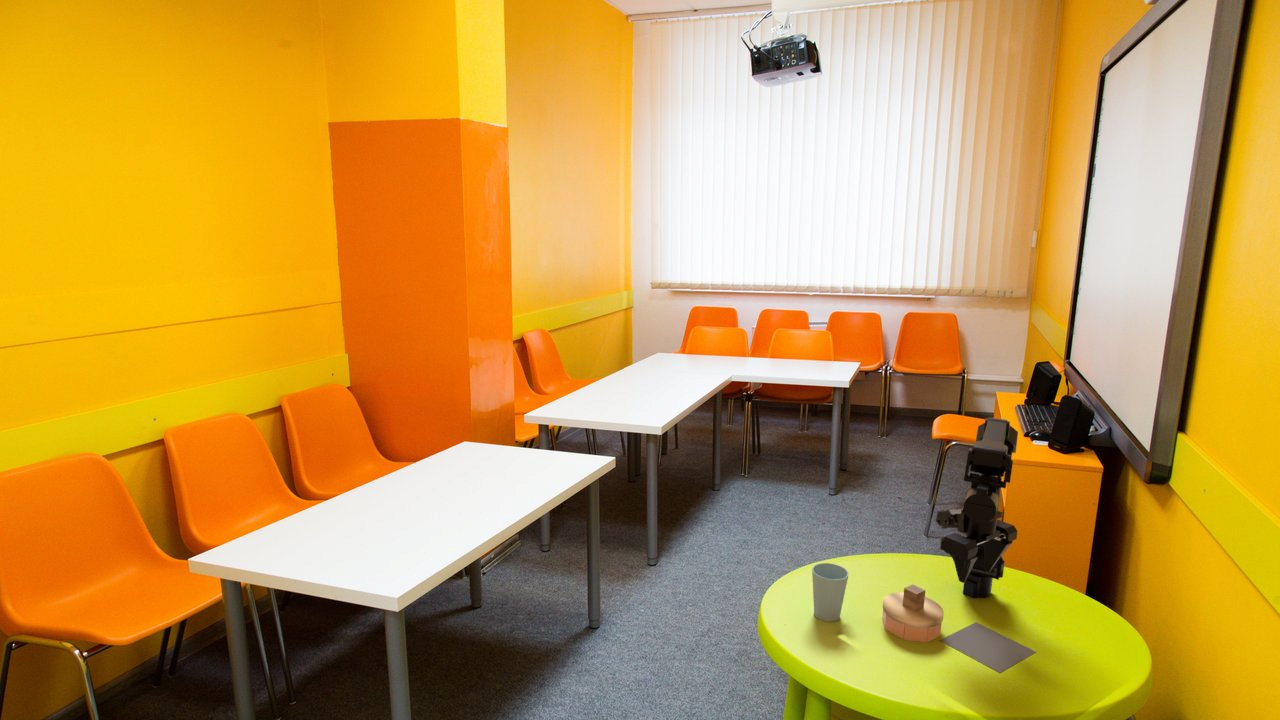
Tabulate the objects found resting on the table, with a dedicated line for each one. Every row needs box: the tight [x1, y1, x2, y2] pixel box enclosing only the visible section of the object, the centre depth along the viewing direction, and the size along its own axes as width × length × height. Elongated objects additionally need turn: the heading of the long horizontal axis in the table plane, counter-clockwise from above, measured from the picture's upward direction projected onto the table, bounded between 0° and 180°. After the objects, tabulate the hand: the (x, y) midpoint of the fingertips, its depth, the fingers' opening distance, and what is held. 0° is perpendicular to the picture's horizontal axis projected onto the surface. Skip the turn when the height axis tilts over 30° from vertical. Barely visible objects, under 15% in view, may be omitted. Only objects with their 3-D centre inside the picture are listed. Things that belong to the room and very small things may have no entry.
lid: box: [882, 583, 945, 628], centre depth 156 cm, size 12×12×5 cm
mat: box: [939, 621, 1037, 674], centre depth 150 cm, size 13×13×1 cm
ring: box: [881, 609, 943, 643], centre depth 157 cm, size 11×11×4 cm
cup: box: [811, 562, 850, 622], centre depth 162 cm, size 8×8×10 cm
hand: (974, 576), depth 154 cm, fingers open, 9 cm apart
